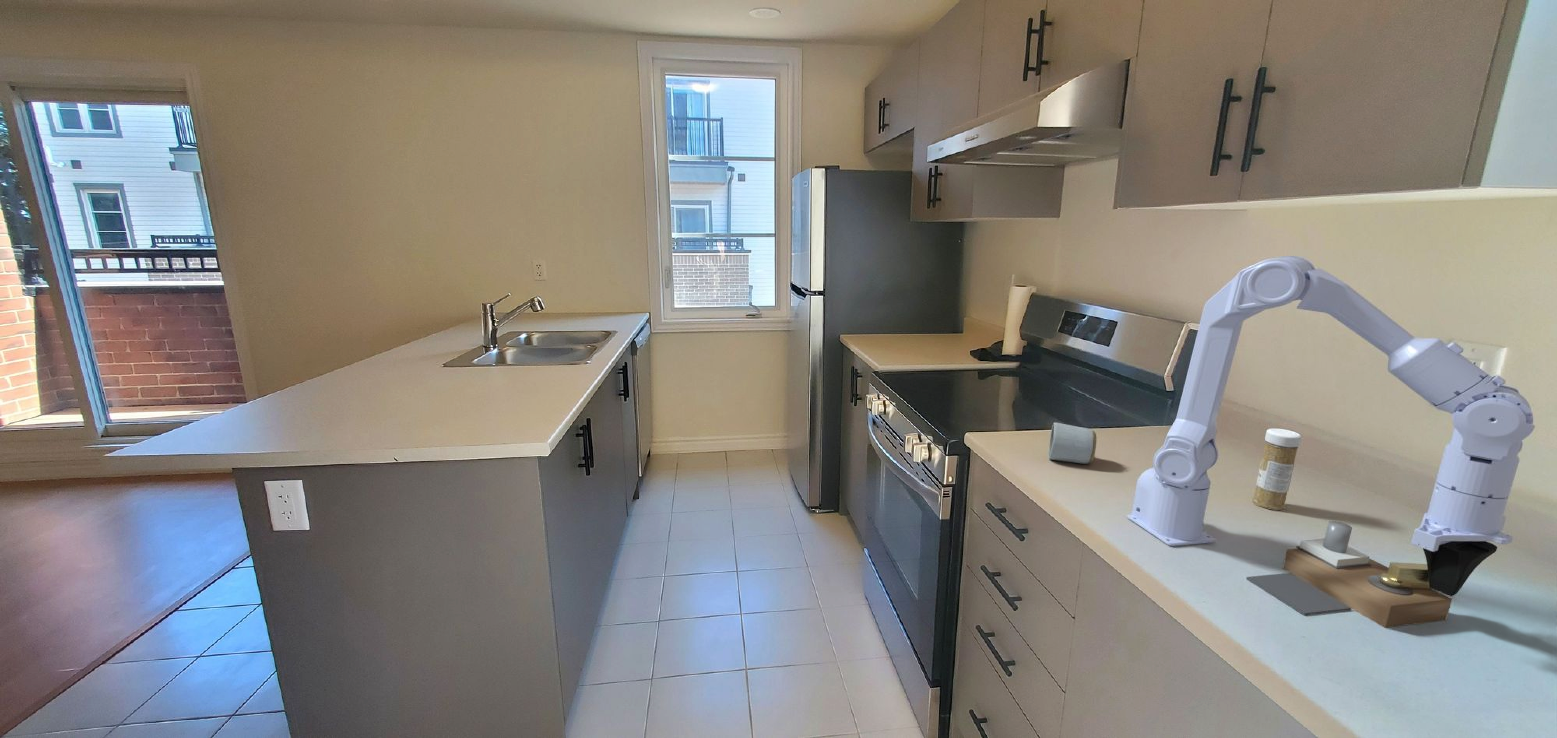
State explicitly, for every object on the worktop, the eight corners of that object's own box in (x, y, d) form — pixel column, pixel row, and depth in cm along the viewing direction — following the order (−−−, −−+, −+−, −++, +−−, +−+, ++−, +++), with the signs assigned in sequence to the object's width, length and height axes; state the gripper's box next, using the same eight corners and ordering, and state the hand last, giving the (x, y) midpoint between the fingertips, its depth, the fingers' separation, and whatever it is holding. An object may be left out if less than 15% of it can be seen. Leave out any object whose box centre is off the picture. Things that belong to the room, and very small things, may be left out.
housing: (1281, 567, 86) (1285, 547, 85) (1334, 562, 88) (1339, 542, 87) (1385, 627, 74) (1391, 604, 73) (1445, 620, 75) (1452, 597, 74)
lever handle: (1388, 587, 76) (1393, 569, 75) (1374, 578, 78) (1379, 560, 77) (1449, 591, 75) (1455, 572, 75) (1434, 581, 77) (1439, 563, 77)
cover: (1299, 546, 86) (1306, 517, 84) (1329, 544, 86) (1336, 515, 85) (1336, 566, 81) (1344, 535, 80) (1367, 563, 82) (1375, 532, 80)
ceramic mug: (1094, 470, 120) (1099, 433, 118) (1049, 464, 123) (1053, 428, 121) (1087, 452, 130) (1092, 418, 128) (1046, 447, 132) (1050, 413, 131)
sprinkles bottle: (1253, 496, 108) (1268, 425, 105) (1286, 504, 105) (1302, 431, 102) (1250, 505, 105) (1265, 432, 102) (1284, 513, 102) (1300, 438, 99)
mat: (1246, 578, 83) (1246, 576, 83) (1289, 574, 84) (1290, 572, 84) (1303, 615, 76) (1304, 613, 76) (1350, 609, 77) (1351, 607, 77)
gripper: (1484, 512, 65) (1452, 623, 68) (1554, 493, 70) (1521, 597, 73) (1400, 486, 72) (1374, 589, 75) (1469, 470, 76) (1442, 567, 79)
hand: (1442, 591), depth 74 cm, fingers closed, pressing on lever handle
